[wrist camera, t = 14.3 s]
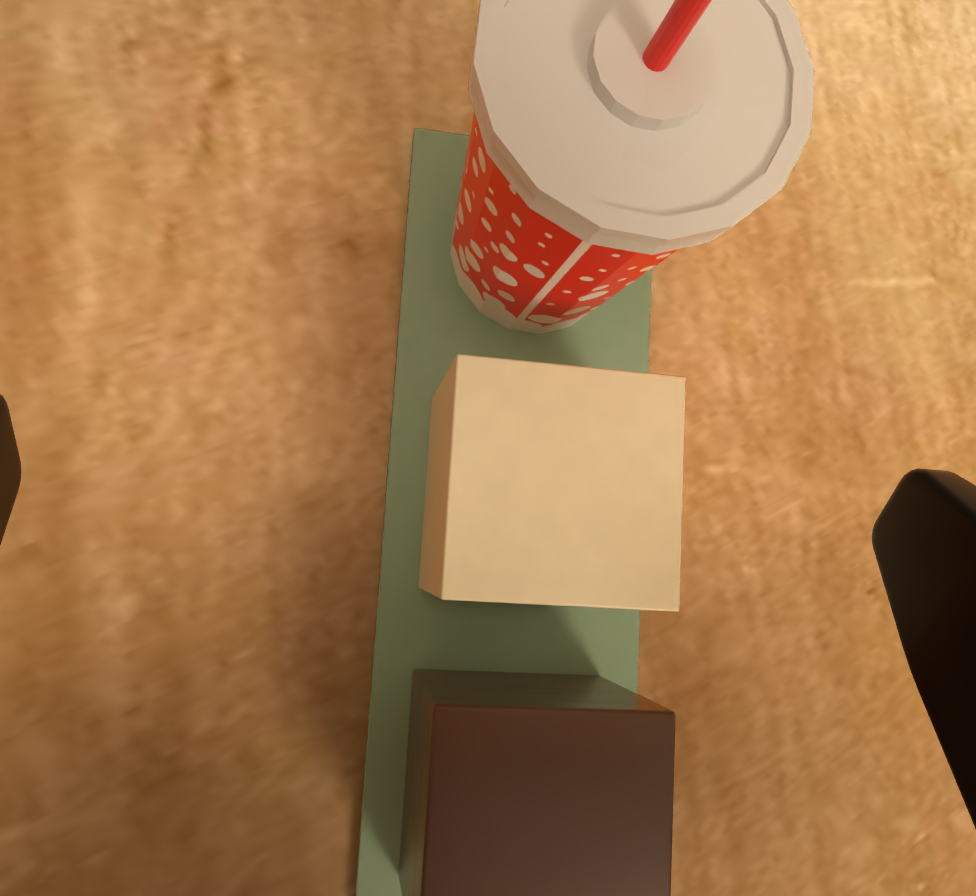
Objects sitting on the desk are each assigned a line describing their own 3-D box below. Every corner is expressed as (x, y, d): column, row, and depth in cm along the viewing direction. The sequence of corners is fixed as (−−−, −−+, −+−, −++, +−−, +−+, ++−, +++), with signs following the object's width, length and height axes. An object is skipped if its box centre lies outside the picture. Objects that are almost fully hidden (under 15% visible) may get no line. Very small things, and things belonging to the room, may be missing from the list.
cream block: (604, 598, 22) (680, 612, 17) (418, 588, 21) (440, 599, 16) (611, 414, 23) (686, 376, 18) (431, 397, 22) (456, 353, 17)
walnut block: (594, 876, 21) (670, 975, 16) (397, 877, 20) (415, 981, 15) (601, 675, 22) (677, 711, 17) (412, 668, 21) (433, 704, 16)
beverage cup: (662, 195, 24) (1101, -294, 10) (603, 392, 23) (1004, 149, 9) (461, 115, 23) (639, -534, 9) (391, 315, 22) (471, -80, 8)
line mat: (625, 954, 21) (628, 959, 21) (350, 959, 20) (350, 965, 20) (651, 167, 24) (655, 162, 24) (413, 132, 23) (414, 127, 23)
